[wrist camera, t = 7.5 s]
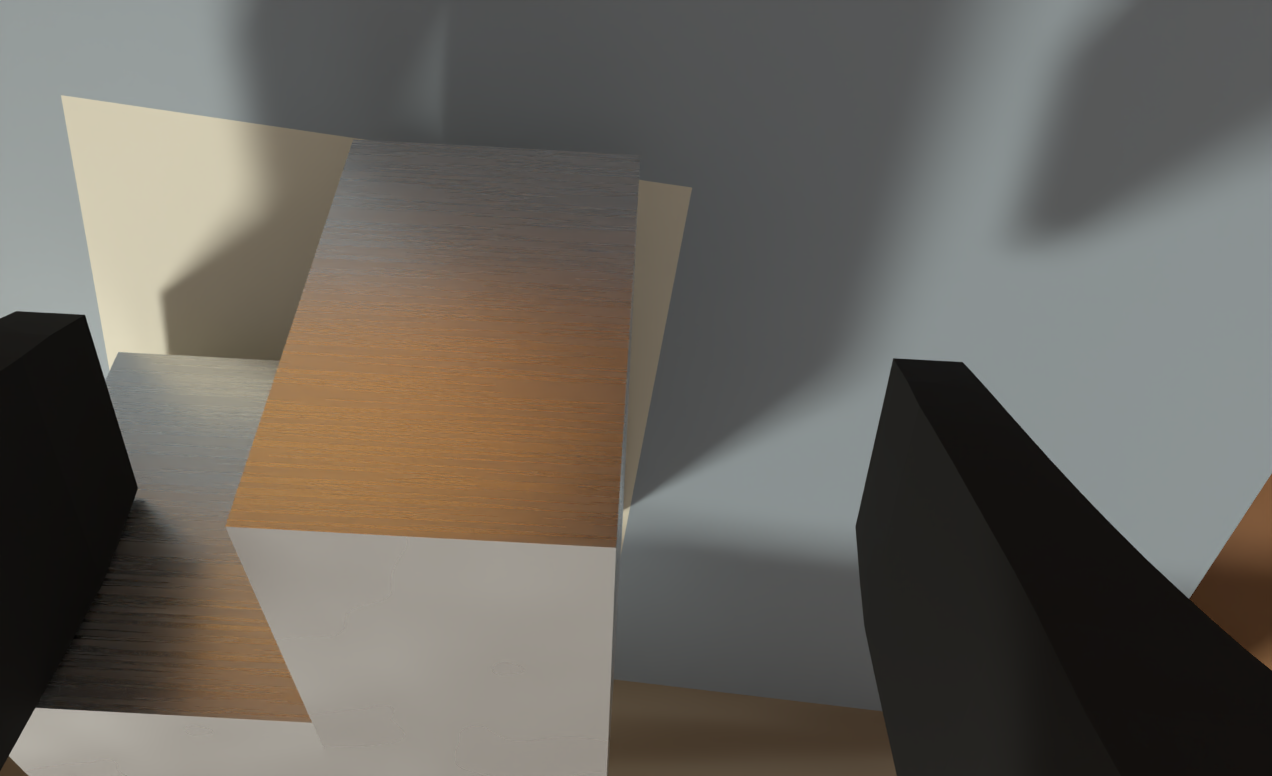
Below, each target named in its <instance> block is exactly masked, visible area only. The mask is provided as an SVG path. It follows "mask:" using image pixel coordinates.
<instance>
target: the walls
mask: <svg viewBox="0 0 1272 776" xmlns="http://www.w3.org/2000/svg"><path fill="white" fill-rule="evenodd" d="M0 776H28V775H27V774H26V773H25V772H24V771H23V770H22V769H21V768H20V767H19V766H18V765H17V764H16V763H15V762H14V761H13V760H12V759H11V758H10V757H9V756H8V758H7V760H6V762H5V764H4V765H3V767H2V769H1V771H0ZM608 776H897V774H896V770H895V765H894V761H893V756H892V752H891V747H890V743H889V738H888V734H887V729H886V725H885V720H884V716H883V711H876V710H867V709H859V708H851V707H842V706H834V705H825V704H817V703H808V702H800V701H792V700H783V699H775V698H766V697H758V696H749V695H741V694H733V693H724V692H716V691H707V690H699V689H690V688H682V687H674V686H665V685H657V684H648V683H640V682H631V681H623V680H615V679H614V680H613V697H612V714H611V732H610V749H609V766H608Z"/></svg>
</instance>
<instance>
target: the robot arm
mask: <svg viewBox="0 0 1272 776" xmlns="http://www.w3.org/2000/svg"><path fill="white" fill-rule="evenodd" d="M137 490H138V486H137V483H136V480H135V476H134V473H133V470H132V466H131V463H130V460H129V457H128V453H127V450H126V447H125V444H124V440H123V437H122V434H121V431H120V427H119V424H118V421H117V418H116V414H115V411H114V408H113V404H112V401H111V398H110V395H109V391H108V388H107V385H106V382H105V378H104V375H103V372H102V369H101V365H100V362H99V359H98V356H97V352H96V349H95V346H94V342H93V339H92V336H91V333H90V329H89V326H88V323H87V320H86V316H85V315H80V314H62V313H43V312H24V311H15V312H13V313H11V314H9V315H7V316H4V317H2V318H0V771H1V769H2V767H3V765H4V764H5V762H6V760H7V758H8V756H9V755H10V753H11V751H12V749H13V747H14V746H15V744H16V742H17V740H18V738H19V737H20V735H21V733H22V731H23V729H24V728H25V726H26V724H27V722H28V720H29V719H30V717H31V715H32V713H33V711H34V710H35V708H36V706H37V704H38V702H39V701H40V699H41V697H42V695H43V693H44V692H45V690H46V688H47V686H48V684H49V683H50V681H51V679H52V677H53V675H54V674H55V672H56V670H57V668H58V666H59V665H60V663H61V661H62V659H63V657H64V655H65V653H66V652H67V650H68V648H69V646H70V644H71V642H72V641H73V639H74V637H75V635H76V633H77V631H78V629H79V628H80V626H81V624H82V622H83V620H84V618H85V617H86V615H87V613H88V611H89V609H90V607H91V605H92V603H93V602H94V600H95V598H96V596H97V594H98V592H99V590H100V588H101V586H102V584H103V582H104V579H105V576H106V574H107V571H108V569H109V566H110V564H111V561H112V559H113V556H114V554H115V551H116V549H117V546H118V544H119V541H120V538H121V535H122V533H123V530H124V527H125V524H126V521H127V518H128V515H129V513H130V510H131V507H132V504H133V501H134V498H135V496H136V493H137ZM855 528H856V540H857V553H858V565H859V578H860V589H861V599H862V609H863V619H864V627H865V632H866V637H867V642H868V647H869V651H870V656H871V661H872V665H873V670H874V675H875V679H876V684H877V689H878V693H879V698H880V702H881V707H882V711H883V716H884V720H885V725H886V729H887V734H888V738H889V743H890V747H891V752H892V756H893V761H894V765H895V770H896V774H897V776H1272V671H1271V670H1270V669H1269V668H1268V667H1267V666H1265V665H1264V664H1263V663H1262V662H1260V661H1259V660H1258V659H1257V658H1255V657H1254V656H1253V655H1252V654H1251V653H1249V652H1248V651H1247V650H1246V649H1244V648H1243V647H1242V646H1241V645H1240V644H1239V643H1238V642H1236V641H1235V640H1234V639H1233V638H1232V637H1231V636H1230V635H1228V634H1227V633H1226V632H1225V631H1224V630H1223V629H1221V628H1220V627H1219V626H1218V625H1217V624H1216V623H1215V622H1213V621H1212V620H1211V619H1210V618H1209V617H1208V616H1207V615H1206V614H1204V613H1203V612H1202V611H1201V610H1200V609H1199V608H1198V607H1197V606H1196V605H1195V604H1194V603H1193V602H1192V601H1191V600H1190V599H1188V598H1187V597H1186V596H1185V595H1184V594H1183V593H1182V592H1181V591H1180V590H1179V589H1178V588H1177V587H1176V586H1175V585H1173V584H1172V583H1171V582H1170V581H1169V580H1168V579H1167V578H1166V577H1165V576H1164V575H1163V574H1162V573H1161V572H1160V571H1159V570H1157V569H1156V568H1155V567H1154V566H1153V565H1152V564H1151V563H1150V562H1149V561H1148V560H1147V559H1146V558H1145V557H1144V556H1143V555H1142V554H1141V553H1140V552H1139V551H1138V550H1137V549H1136V548H1135V547H1134V546H1133V545H1132V544H1131V543H1130V542H1129V541H1128V540H1127V539H1126V538H1125V537H1124V536H1123V535H1122V534H1121V533H1120V532H1119V531H1118V530H1117V529H1116V528H1115V527H1114V526H1113V525H1112V524H1111V523H1110V522H1109V521H1108V520H1107V519H1106V518H1105V517H1104V516H1103V515H1102V514H1101V513H1100V512H1099V511H1098V510H1097V509H1096V508H1095V507H1094V506H1093V505H1092V504H1091V503H1090V502H1089V501H1088V499H1087V498H1086V497H1085V496H1084V495H1083V494H1082V493H1081V492H1080V491H1079V490H1078V489H1077V488H1076V487H1075V486H1074V485H1073V484H1072V483H1071V482H1070V480H1069V479H1068V478H1067V477H1066V476H1065V475H1064V474H1063V473H1062V472H1061V471H1060V470H1059V468H1058V467H1057V466H1056V465H1055V464H1054V463H1053V462H1052V461H1051V460H1050V459H1049V458H1048V456H1047V455H1046V454H1045V453H1044V452H1043V451H1042V450H1041V449H1040V448H1039V446H1038V445H1037V444H1036V443H1035V442H1034V441H1033V440H1032V439H1031V438H1030V436H1029V435H1028V434H1027V433H1026V432H1025V431H1024V430H1023V429H1022V428H1021V426H1020V425H1019V424H1018V423H1017V422H1016V421H1015V420H1014V419H1013V417H1012V416H1011V415H1010V414H1009V413H1008V412H1007V411H1006V409H1005V408H1004V407H1003V406H1002V405H1001V404H1000V403H999V402H998V400H997V399H996V398H995V397H994V396H993V395H992V394H991V392H990V391H989V390H988V389H987V388H986V387H985V386H984V385H983V383H982V382H981V381H980V380H979V379H978V378H977V377H976V376H975V375H974V374H973V372H972V371H971V370H970V369H969V368H968V367H967V366H966V365H965V364H964V363H963V362H954V361H935V360H916V359H898V358H893V361H892V366H891V370H890V375H889V379H888V384H887V388H886V393H885V397H884V402H883V406H882V410H881V415H880V419H879V424H878V428H877V433H876V437H875V442H874V446H873V450H872V455H871V459H870V464H869V468H868V473H867V477H866V482H865V486H864V491H863V495H862V499H861V504H860V508H859V513H858V517H857V522H856V526H855Z"/></svg>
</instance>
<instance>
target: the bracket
mask: <svg viewBox="0 0 1272 776" xmlns="http://www.w3.org/2000/svg"><path fill="white" fill-rule="evenodd" d="M639 171H640V155H630V154H612V153H593V152H575V151H556V150H538V149H520V148H501V147H483V146H464V145H446V144H428V143H409V142H391V141H372V140H354V139H353V142H352V145H351V148H350V151H349V154H348V157H347V160H346V163H345V166H344V169H343V172H342V175H341V178H340V181H339V184H338V187H337V190H336V193H335V196H334V199H333V202H332V205H331V208H330V211H329V214H328V217H327V220H326V223H325V226H324V229H323V232H322V235H321V238H320V241H319V244H318V247H317V250H316V253H315V256H314V259H313V262H312V265H311V268H310V271H309V275H308V278H307V281H306V284H305V287H304V290H303V293H302V296H301V299H300V302H299V305H298V308H297V311H296V314H295V317H294V320H293V323H292V326H291V329H290V332H289V335H288V338H287V341H286V344H285V347H284V350H283V353H282V356H281V359H280V361H275V360H257V359H238V358H220V357H201V356H183V355H164V354H146V353H127V352H118V354H117V356H116V358H115V360H114V362H113V365H112V367H111V369H110V371H109V373H108V375H107V378H106V380H105V382H106V385H107V388H108V391H109V395H110V398H111V401H112V404H113V408H114V411H115V414H116V418H117V421H118V424H119V427H120V431H121V434H122V437H123V440H124V444H125V447H126V450H127V453H128V457H129V460H130V463H131V466H132V470H133V473H134V476H135V480H136V483H137V486H138V490H137V493H136V496H135V498H134V501H133V504H132V507H131V510H130V513H129V515H128V518H127V521H126V524H125V527H124V530H123V533H122V535H121V538H120V541H119V544H118V546H117V549H116V551H115V554H114V556H113V559H112V561H111V564H110V566H109V569H108V571H107V574H106V576H105V579H104V582H103V584H102V586H101V588H100V590H99V592H98V594H97V596H96V598H95V600H94V602H93V603H92V605H91V607H90V609H89V611H88V613H87V615H86V617H85V618H84V620H83V622H82V624H81V626H80V628H79V629H78V631H77V633H76V635H75V637H74V639H73V641H72V642H71V644H70V646H69V648H68V650H67V652H66V653H65V655H64V657H63V659H62V661H61V663H60V665H59V666H58V668H57V670H56V672H55V674H54V675H53V677H52V679H51V681H50V683H49V684H48V686H47V688H46V690H45V692H44V693H43V695H42V697H41V699H40V701H39V702H38V704H37V706H36V708H35V710H34V711H33V713H32V715H31V717H30V719H29V720H28V722H27V724H26V726H25V728H24V729H23V731H22V733H21V735H20V737H19V738H18V740H17V742H16V744H15V746H14V747H13V749H12V751H11V753H10V755H9V757H10V758H11V759H12V760H13V761H14V762H15V763H16V764H17V765H18V766H19V767H20V768H21V769H22V770H23V771H24V772H25V773H26V774H27V775H28V776H608V766H609V749H610V732H611V714H612V697H613V680H614V663H615V645H616V628H617V611H618V594H619V576H620V559H621V542H622V525H623V507H624V486H625V465H626V444H627V423H628V402H629V381H630V360H631V339H632V318H633V297H634V276H635V255H636V234H637V213H638V192H639Z"/></svg>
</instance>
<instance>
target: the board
mask: <svg viewBox="0 0 1272 776" xmlns="http://www.w3.org/2000/svg"><path fill="white" fill-rule="evenodd" d="M353 139H354V140H372V141H391V142H409V143H428V144H446V145H464V146H483V147H501V148H520V149H538V150H556V151H575V152H593V153H612V154H630V155H640V171H639V192H638V213H637V234H636V255H635V276H634V297H633V318H632V339H631V360H630V381H629V402H628V423H627V444H626V465H625V486H624V507H623V525H622V542H621V559H620V576H619V594H618V611H617V628H616V645H615V663H614V679H615V680H623V681H631V682H640V683H648V684H657V685H665V686H674V687H682V688H690V689H699V690H707V691H716V692H724V693H733V694H741V695H749V696H758V697H766V698H775V699H783V700H792V701H800V702H808V703H817V704H825V705H834V706H842V707H851V708H859V709H867V710H876V711H882V707H881V702H880V698H879V693H878V689H877V684H876V679H875V675H874V670H873V665H872V661H871V656H870V651H869V647H868V642H867V637H866V632H865V627H864V619H863V609H862V599H861V589H860V578H859V565H858V553H857V540H856V528H855V526H856V522H857V517H858V513H859V508H860V504H861V499H862V495H863V491H864V486H865V482H866V477H867V473H868V468H869V464H870V459H871V455H872V450H873V446H874V442H875V437H876V433H877V428H878V424H879V419H880V415H881V410H882V406H883V402H884V397H885V393H886V388H887V384H888V379H889V375H890V370H891V366H892V361H893V358H898V359H916V360H935V361H954V362H963V363H964V364H965V365H966V366H967V367H968V368H969V369H970V370H971V371H972V372H973V374H974V375H975V376H976V377H977V378H978V379H979V380H980V381H981V382H982V383H983V385H984V386H985V387H986V388H987V389H988V390H989V391H990V392H991V394H992V395H993V396H994V397H995V398H996V399H997V400H998V402H999V403H1000V404H1001V405H1002V406H1003V407H1004V408H1005V409H1006V411H1007V412H1008V413H1009V414H1010V415H1011V416H1012V417H1013V419H1014V420H1015V421H1016V422H1017V423H1018V424H1019V425H1020V426H1021V428H1022V429H1023V430H1024V431H1025V432H1026V433H1027V434H1028V435H1029V436H1030V438H1031V439H1032V440H1033V441H1034V442H1035V443H1036V444H1037V445H1038V446H1039V448H1040V449H1041V450H1042V451H1043V452H1044V453H1045V454H1046V455H1047V456H1048V458H1049V459H1050V460H1051V461H1052V462H1053V463H1054V464H1055V465H1056V466H1057V467H1058V468H1059V470H1060V471H1061V472H1062V473H1063V474H1064V475H1065V476H1066V477H1067V478H1068V479H1069V480H1070V482H1071V483H1072V484H1073V485H1074V486H1075V487H1076V488H1077V489H1078V490H1079V491H1080V492H1081V493H1082V494H1083V495H1084V496H1085V497H1086V498H1087V499H1088V501H1089V502H1090V503H1091V504H1092V505H1093V506H1094V507H1095V508H1096V509H1097V510H1098V511H1099V512H1100V513H1101V514H1102V515H1103V516H1104V517H1105V518H1106V519H1107V520H1108V521H1109V522H1110V523H1111V524H1112V525H1113V526H1114V527H1115V528H1116V529H1117V530H1118V531H1119V532H1120V533H1121V534H1122V535H1123V536H1124V537H1125V538H1126V539H1127V540H1128V541H1129V542H1130V543H1131V544H1132V545H1133V546H1134V547H1135V548H1136V549H1137V550H1138V551H1139V552H1140V553H1141V554H1142V555H1143V556H1144V557H1145V558H1146V559H1147V560H1148V561H1149V562H1150V563H1151V564H1152V565H1153V566H1154V567H1155V568H1156V569H1157V570H1159V571H1160V572H1161V573H1162V574H1163V575H1164V576H1165V577H1166V578H1167V579H1168V580H1169V581H1170V582H1171V583H1172V584H1173V585H1175V586H1176V587H1177V588H1178V589H1179V590H1180V591H1181V592H1182V593H1183V594H1184V595H1185V596H1186V597H1187V598H1188V599H1189V598H1190V597H1191V595H1192V594H1193V592H1194V591H1195V589H1196V588H1197V586H1198V585H1199V583H1200V582H1201V580H1202V579H1203V577H1204V575H1205V574H1206V572H1207V571H1208V569H1209V568H1210V566H1211V565H1212V563H1213V562H1214V560H1215V559H1216V557H1217V556H1218V554H1219V553H1220V551H1221V550H1222V548H1223V547H1224V545H1225V543H1226V542H1227V540H1228V539H1229V537H1230V536H1231V534H1232V533H1233V531H1234V530H1235V528H1236V527H1237V525H1238V524H1239V522H1240V521H1241V519H1242V518H1243V516H1244V515H1245V513H1246V512H1247V510H1248V508H1249V507H1250V505H1251V504H1252V502H1253V501H1254V499H1255V498H1256V496H1257V495H1258V493H1259V492H1260V490H1261V489H1262V487H1263V486H1264V484H1265V483H1266V481H1267V480H1268V478H1269V476H1270V475H1271V473H1272V0H0V318H2V317H4V316H7V315H9V314H11V313H13V312H15V311H24V312H43V313H62V314H80V315H85V316H86V320H87V323H88V326H89V329H90V333H91V336H92V339H93V342H94V346H95V349H96V352H97V356H98V359H99V362H100V365H101V369H102V372H103V375H104V378H105V380H106V378H107V375H108V373H109V371H110V369H111V367H112V365H113V362H114V360H115V358H116V356H117V354H118V352H127V353H146V354H164V355H183V356H201V357H220V358H238V359H257V360H275V361H280V359H281V356H282V353H283V350H284V347H285V344H286V341H287V338H288V335H289V332H290V329H291V326H292V323H293V320H294V317H295V314H296V311H297V308H298V305H299V302H300V299H301V296H302V293H303V290H304V287H305V284H306V281H307V278H308V275H309V271H310V268H311V265H312V262H313V259H314V256H315V253H316V250H317V247H318V244H319V241H320V238H321V235H322V232H323V229H324V226H325V223H326V220H327V217H328V214H329V211H330V208H331V205H332V202H333V199H334V196H335V193H336V190H337V187H338V184H339V181H340V178H341V175H342V172H343V169H344V166H345V163H346V160H347V157H348V154H349V151H350V148H351V145H352V142H353Z"/></svg>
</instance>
